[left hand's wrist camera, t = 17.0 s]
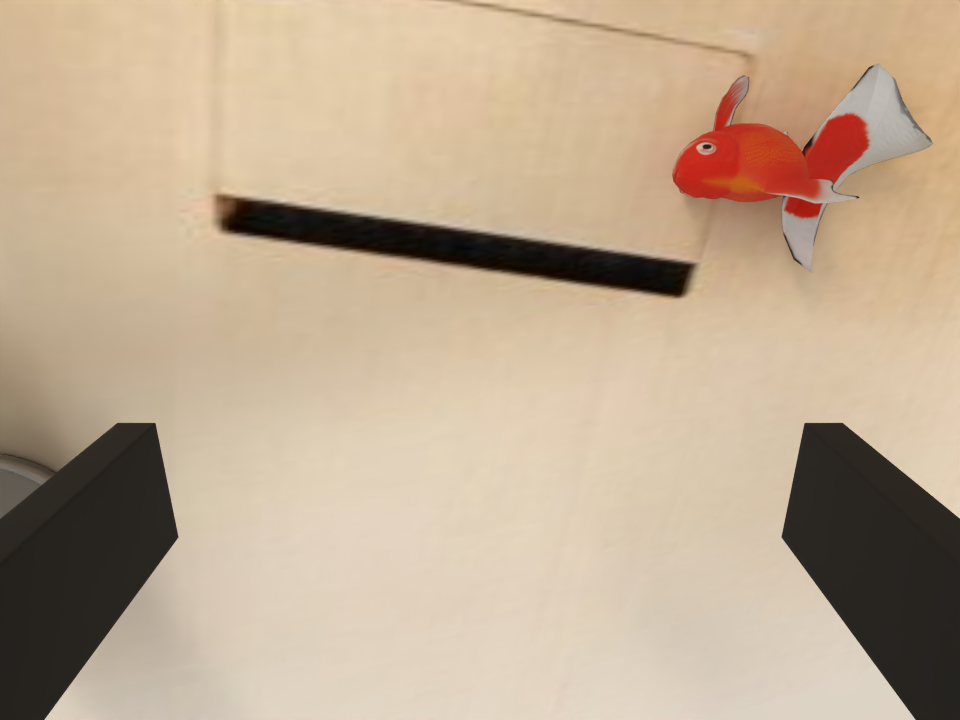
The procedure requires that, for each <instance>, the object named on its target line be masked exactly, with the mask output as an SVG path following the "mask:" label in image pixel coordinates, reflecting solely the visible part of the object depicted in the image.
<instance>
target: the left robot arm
mask: <svg viewBox="0 0 960 720" xmlns="http://www.w3.org/2000/svg"><path fill="white" fill-rule="evenodd" d="M177 538H178V533H177V528H176V523H175V518H174V513H173V508H172V503H171V498H170V493H169V488H168V483H167V478H166V473H165V469H164V464H163V459H162V454H161V449H160V444H159V439H158V434H157V429H156V424H155V423H117V424H116V425H114V426H113V427H112V428H111V429H110V430H108V431H107V432H106V433H105V434H103V435H102V436H101V437H100V438H99V439H97V440H96V441H95V442H94V443H92V444H91V445H90V446H89V447H87V448H86V449H85V450H84V451H83V452H81V453H80V454H79V455H78V456H76V457H75V458H74V459H73V460H72V461H70V462H69V463H68V464H67V465H65V466H64V467H63V468H62V469H61V470H59V471H58V472H57V473H54V472H52V471H51V470H49V469H47V468H45V467H43V466H41V465H38V464H36V463H33V462H31V461H28V460H25V459H22V458H18V457H14V456H9V455H3V454H0V720H44V719H45V718H46V717H47V715H48V714H49V713H50V711H51V710H52V709H53V707H54V706H55V704H56V703H57V702H58V700H59V699H60V698H61V696H62V695H63V694H64V692H65V691H66V689H67V688H68V687H69V685H70V684H71V683H72V681H73V680H74V679H75V677H76V676H77V675H78V673H79V672H80V670H81V669H82V668H83V666H84V665H85V664H86V662H87V661H88V660H89V658H90V657H91V655H92V654H93V653H94V651H95V650H96V649H97V647H98V646H99V645H100V643H101V642H102V640H103V639H104V638H105V636H106V635H107V634H108V632H109V631H110V630H111V628H112V627H113V626H114V624H115V623H116V621H117V620H118V619H119V617H120V616H121V615H122V613H123V612H124V611H125V609H126V608H127V606H128V605H129V604H130V602H131V601H132V600H133V598H134V597H135V596H136V594H137V593H138V592H139V590H140V589H141V587H142V586H143V585H144V583H145V582H146V581H147V579H148V578H149V577H150V575H151V574H152V572H153V571H154V570H155V568H156V567H157V566H158V564H159V563H160V562H161V560H162V559H163V558H164V556H165V555H166V553H167V552H168V551H169V549H170V548H171V547H172V545H173V544H174V543H175V541H176V540H177ZM782 538H783V540H784V541H785V543H786V544H787V545H788V547H789V548H790V549H791V551H792V552H793V553H794V555H795V556H796V558H797V559H798V560H799V562H800V563H801V564H802V566H803V567H804V568H805V570H806V571H807V572H808V574H809V575H810V577H811V578H812V579H813V581H814V582H815V583H816V585H817V586H818V587H819V589H820V590H821V592H822V593H823V594H824V596H825V597H826V598H827V600H828V601H829V602H830V604H831V605H832V606H833V608H834V609H835V611H836V612H837V613H838V615H839V616H840V617H841V619H842V620H843V621H844V623H845V624H846V626H847V627H848V628H849V630H850V631H851V632H852V634H853V635H854V636H855V638H856V639H857V641H858V642H859V643H860V645H861V646H862V647H863V649H864V650H865V651H866V653H867V654H868V655H869V657H870V658H871V660H872V661H873V662H874V664H875V665H876V666H877V668H878V669H879V670H880V672H881V673H882V674H883V676H884V677H885V679H886V680H887V681H888V683H889V684H890V685H891V687H892V688H893V689H894V691H895V692H896V694H897V695H898V696H899V698H900V699H901V700H902V702H903V703H904V704H905V706H906V707H907V709H908V710H909V711H910V713H911V714H912V715H913V717H914V718H915V719H916V720H960V519H959V518H958V517H957V516H956V515H955V514H953V513H952V512H951V511H950V510H948V509H947V508H946V507H945V506H944V505H942V504H941V503H940V502H939V501H937V500H936V499H935V498H934V497H933V496H931V495H930V494H929V493H928V492H926V491H925V490H924V489H923V488H922V487H920V486H919V485H918V484H917V483H915V482H914V481H913V480H912V479H910V478H909V477H908V476H907V475H906V474H904V473H903V472H902V471H901V470H899V469H898V468H897V467H896V466H895V465H893V464H892V463H891V462H890V461H888V460H887V459H886V458H885V457H884V456H882V455H881V454H880V453H879V452H877V451H876V450H875V449H874V448H873V447H871V446H870V445H869V444H868V443H866V442H865V441H864V440H863V439H861V438H860V437H859V436H858V435H857V434H855V433H854V432H853V431H852V430H850V429H849V428H848V427H847V426H846V425H844V424H843V423H805V424H804V429H803V434H802V439H801V444H800V449H799V454H798V459H797V464H796V469H795V473H794V478H793V483H792V488H791V493H790V498H789V503H788V508H787V513H786V518H785V523H784V528H783V533H782Z"/></svg>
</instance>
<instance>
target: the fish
mask: <svg viewBox="0 0 960 720" xmlns="http://www.w3.org/2000/svg"><path fill="white" fill-rule="evenodd" d="M748 87H749V77H747V76H742V77H740V78H738V79H737V80H736V81H735V82H734V83H733V84H732V86H731V88H730V89H729V91H728V93H727V94H726V95H725V96H724V97H723V98H722V100H721V103H720V105H719V107H718V110H717V112H716V117H715V122H714V128H713V131H711V132H709V133H706V134H703V135H701V136H700V137H699V138H697V139H696V140H694V141H692V142H691V143H690V144H689V145H688V146H686V147H685V148H684V149H683V150H682V152H681V153H680V154H679V156H678V158H677V160H676V161H675V163H674V166H673V173H672V176H673V181H674V183H675V184H676V185H677V186H678V188H679V190H680V192H681V193H683V194H685V195H686V196H688V197H690V198H700V197H704V198H709V199H717V198H720V197H723V198H726V199H730V200H734V201H739V202H755V201H761V200H766V199H771V198H775V197H778V196H781V195H784V197H783V205H782V225H783V232H784V237H785V239H786V241H787V244H788V246H789V249H790V251H791V254H792V256H793V259H794V260H795V261H797V262H798V263H799V264H801V265H802V266H803V267H805V268H806V269H808V270H809V271H810V272H812V252H813V245H814V241H815V237H816V233H817V229H818V225H819V221H820V219H821V217H822V215H823V212H824V210H825V208H826V205H827V203H834V202H839V201H845V200H851V199H857V198H860V197H858V196H849V195H842V194H839V193H836V192H834V191H835V190H836V189H837V187H838V186H839V185H840V184H841V183H842V182H843V181H844V180H845V179H846V178H847V177H848V176H849V175H851V174H852V173H854V172H856V171H858V170H860V169H862V168H864V167H867V166H869V165H872V164H874V163H877V162H881V161H885V160H889V159H893V158H897V157H901V156H904V155H907V154H911V153H914V152H917V151H920V150H923V149H925V148H927V147H929V146H930V145H932V144H933V143H932V141H931V139H930V138H929V137H928V136H927V135H926V134H925V133H924V132H923V131H922V129H921V128H920V127H919V126H918V124H917V123H916V122H915V121H914V119H913V118H912V116H911V114H910V113H909V111H908V109H907V107H906V106H905V104H904V102H903V101H902V98H901V95H900V92H899V89H898V86H897V84H896V81H895V79H894V78H893V77H892V76H891V75H890V74H889V73H888V72H887V71H886V70H885V69H884V68H883V67H882V66H881V65H880V64H876V65H873V66H871V67H869V68H868V69H867V71H866V72H865V73H864V75H863V76H862V77H861V78H860V80H859V81H858V82H857V84H856V85H855V86H854V88H853V89H852V90H851V91H850V92H849V93H848V94H847V96H846V97H845V98H844V99H843V100H842V101H841V102H840V104H839V105H838V106H837V107H836V108H835V110H834V111H833V112H832V113H831V114H830V116H829V117H828V118H827V119H826V121H825V122H824V123H823V124H822V126H821V127H820V128H819V129H818V131H817V132H816V133H815V134H814V136H813V137H812V138H811V139H810V141H809V142H808V143H807V144H806V146H805V147H804V149H803V151H802V152H801V150H800V149H799V148H798V146H797V145H796V144H795V143H794V142H793V140H792V139H791V138H790V137H788V132H786V131H785V132H784V133H782V132H780V131H778V130H776V129H774V128H772V127H769V126H767V125H763V124H733V125H730V124H731V122H732V119H733V115H734V112H735V109H736V108H737V106H738V105H739V103H740V102H741V101H742V100H743V98H744V97H745V96H746V94H747V92H748Z"/></svg>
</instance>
